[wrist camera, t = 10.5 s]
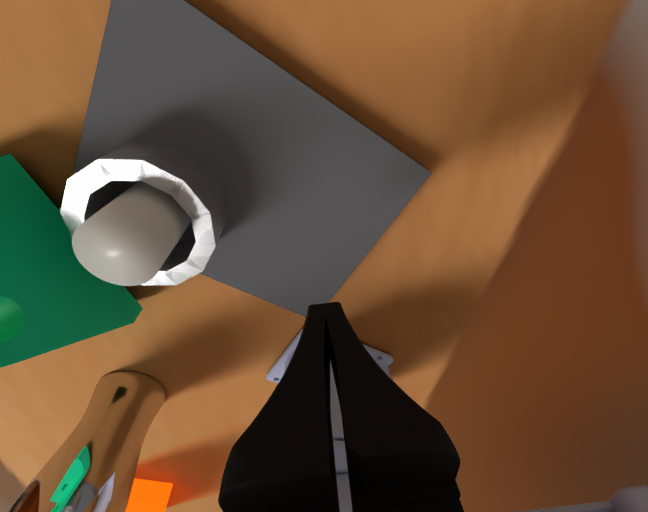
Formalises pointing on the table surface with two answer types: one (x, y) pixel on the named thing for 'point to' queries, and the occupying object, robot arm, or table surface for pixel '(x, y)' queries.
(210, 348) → the table surface
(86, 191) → the sleeve
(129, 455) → the beer glass
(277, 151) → the mat
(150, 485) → the orange juice
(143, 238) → the plug cap
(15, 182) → the camera mount
